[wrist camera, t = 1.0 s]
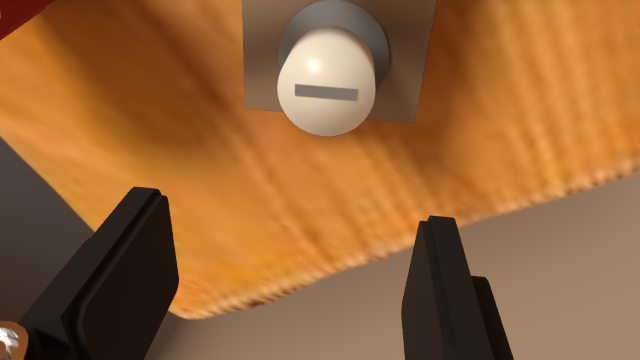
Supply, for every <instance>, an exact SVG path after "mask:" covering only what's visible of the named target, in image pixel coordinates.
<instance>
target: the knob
mask: <svg viewBox="0 0 640 360" xmlns="http://www.w3.org/2000/svg"><path fill="white" fill-rule="evenodd" d="M277 90H278V98H279V102H280V105H281V107H282V109H283V111H284V113H285V114H286V116H287V117H288V118H289V119H290V120H291V121H292V122H293V123H294V124H295V125H296V126H298V127H299V128H300V129H302V130H304V131H306V132H308V133H311V134H315V135H319V136H336V135H341V134H344V133H347V132H349V131H351V130H353V129H354V128H356V127H357V126H358V125H360V124H361V123H362V122H363V121H364V120H365V119H366V117H367V116H368V114H369V113H370V111H371V109H372V106H373V103H374V99H375V69H374V61H373V57H372V54H371V52H370V50H369V48H368V46H367V45H366V43H365V42H364V41H363V40H362V39H361V38H360V37H359V36H358V35H356V34H355V33H353V32H352V31H350V30H348V29H345V28H342V27H337V26H323V27H319V28H315V29H313V30H311V31H309V32H307V33H305V34H304V35H303V36H302V37H301V38H300V39H299V40H298V41H297V42H296V43H295V45H294V46H293V48H292V50H291V52H290V54H289V56H288V58H287V60H286V61H285V63H284V65H283V67H282V69H281V72H280V75H279V79H278V86H277Z"/></svg>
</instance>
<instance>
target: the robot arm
mask: <svg viewBox="0 0 640 360" xmlns="http://www.w3.org/2000/svg"><path fill="white" fill-rule="evenodd" d="M178 284H179V275H178V268H177V261H176V254H175V246H174V239H173V232H172V225H171V217H170V210H169V203H168V198H167V196H165V195H161V192H160V190H158V189H154V188H144V187H133V188H132V189H131V190H130V191H129V192H128V193H127V194H126V196H125V197H124V198H123V199H122V201H121V202H120V203H119V204H118V205H117V207H116V208H115V209H114V210H113V211H112V213H111V214H110V215H109V216H108V218H107V219H106V220H105V221H104V222H103V224H102V225H101V226H100V227H99V228H98V230H97V231H96V232H95V233H94V235H93V236H92V237H91V238H89V239H88V240H86V241H85V242H84V243H83V244H82V246H81V247H80V248H79V249H78V251H77V252H76V253H75V254H74V255H73V257H72V258H71V259H70V260H69V261H68V263H67V264H66V265H65V266H64V268H63V269H62V270H61V271H60V272H59V273H58V275H57V276H56V277H55V278H54V279H53V281H52V282H51V283H50V284H49V285H48V287H47V288H46V289H45V290H44V292H43V293H42V294H41V295H40V296H39V297H38V299H37V300H36V301H35V302H34V303H33V305H32V306H31V307H30V308H29V310H28V311H27V312H26V313H25V314H24V316H23V317H22V318H21V319H20V320H19V321H18V323H13V322H8V321H2V322H0V360H144V358H145V356H146V353H147V351H148V349H149V347H150V345H151V343H152V341H153V339H154V337H155V335H156V333H157V331H158V329H159V327H160V325H161V323H162V321H163V319H164V317H165V315H166V313H167V311H168V309H169V306H170V304H171V302H172V300H173V298H174V296H175V294H176V292H177V289H178ZM401 311H402V312H401V313H402V314H401V316H402V329H403V340H404V353H405V360H514V359H513V355H512V353H511V349H510V346H509V343H508V340H507V337H506V334H505V331H504V328H503V325H502V321H501V318H500V315H499V312H498V309H497V306H496V303H495V300H494V296H493V293H492V290H491V287H490V284H489V282H488V280H487V279H486V278H485V277H478V276H471V275H470V271H469V268H468V264H467V261H466V257H465V253H464V249H463V246H462V242H461V239H460V235H459V232H458V228H457V224H456V221H455V219H454V218H451V217H441V216H431V215H430V216H429V218H428V221H420V222H419V226H418V230H417V235H416V240H415V244H414V249H413V254H412V259H411V263H410V268H409V273H408V277H407V282H406V287H405V292H404V296H403V301H402V310H401Z"/></svg>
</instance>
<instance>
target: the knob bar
mask: <svg viewBox="0 0 640 360" xmlns="http://www.w3.org/2000/svg"><path fill="white" fill-rule="evenodd" d="M436 1H437V0H242V17H243V51H244V85H245V109H254V110H265V111H277V112H284V111H283V109H282V107H281V105H280V102H279V98H278V90H277V86H278V79H279V75H280V72H281V69H282V67H283V65H284V63H285V61H286V60H287V58H288V56H289V54H290V52H291V50H292V48H293V46H294V45H295V43H296V42H297V41H298V40H299V39H300V38H301V37H302V36H303V35H304V34H305V33H307V32H309V31H311V30H313V29H315V28H319V27H323V26H337V27H342V28H345V29H348V30H350V31H352V32H353V33H355V34H356V35H358V36H359V37H360V38H361V39H362V40H363V41H364V42H365V43H366V45H367V46H368V48H369V50H370V52H371V54H372V57H373V61H374V69H375V99H374V103H373V106H372V109H371V111H370V113H369V114H368V116H367V117H366V119H367V120H378V121H389V122H401V123H412V124H414V123H415V118H416V112H417V107H418V101H419V96H420V90H421V85H422V79H423V74H424V68H425V62H426V57H427V51H428V46H429V40H430V35H431V29H432V24H433V18H434V12H435V7H436Z"/></svg>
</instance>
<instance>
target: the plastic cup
mask: <svg viewBox="0 0 640 360" xmlns="http://www.w3.org/2000/svg"><path fill="white" fill-rule="evenodd" d="M53 1H54V0H0V40H2V39H3V38H4V37H6V36H7V35H9V34H10V33H12V32H13V31H14V30H16V29H17V28H19V27H20V26H22V25H23V24H24V23H26V22H27V21H29V20H30V19H31V18H33V17H34V16H36V15H37V14H39V13H40V12H41V11H42V10H43V9H44V8H45V7H46V6H47V5H48V4H50V3H51V2H53Z"/></svg>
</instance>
